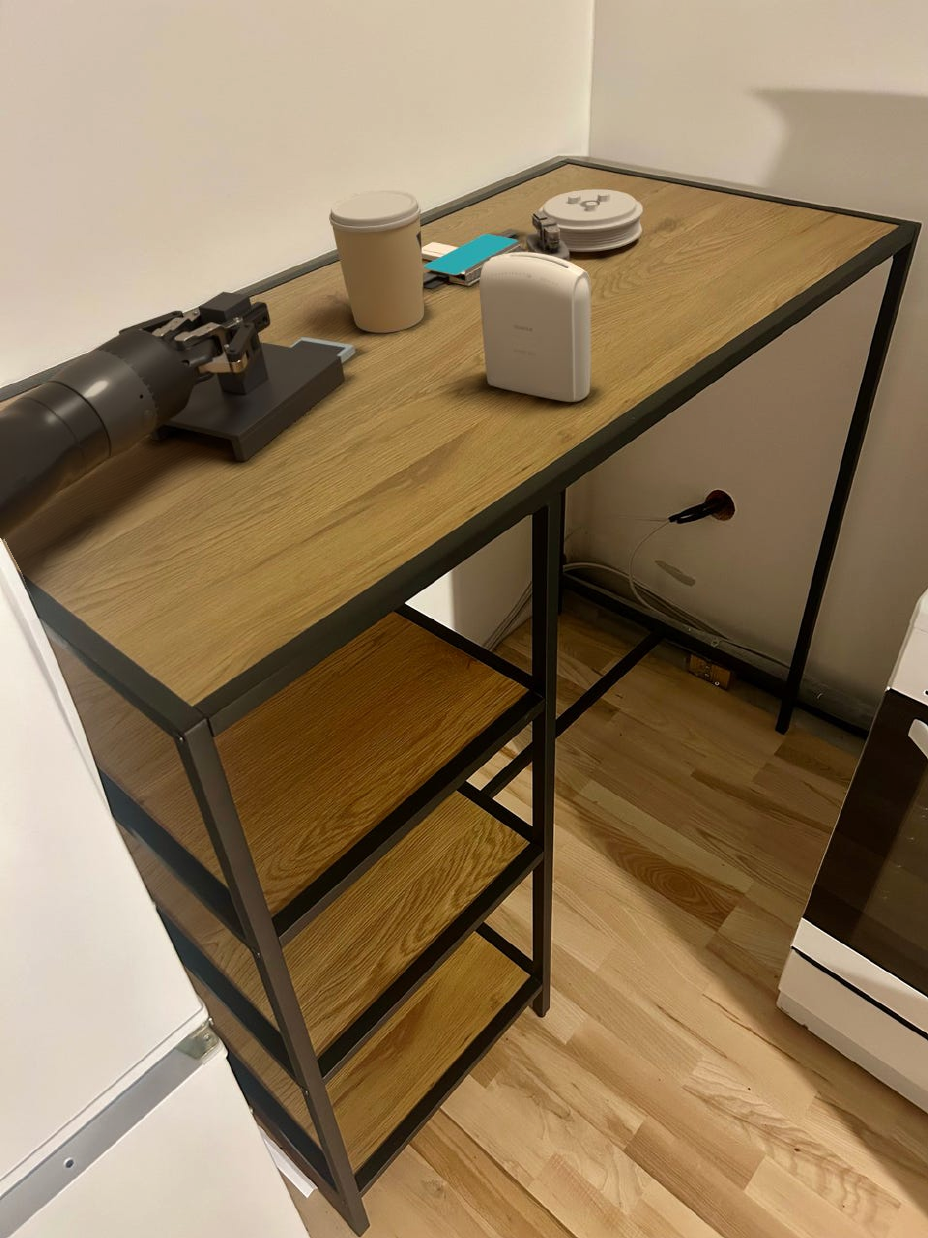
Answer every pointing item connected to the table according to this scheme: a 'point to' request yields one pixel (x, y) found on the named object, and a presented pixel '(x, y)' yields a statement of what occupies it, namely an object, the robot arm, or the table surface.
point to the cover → (255, 389)
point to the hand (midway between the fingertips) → (248, 309)
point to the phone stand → (465, 258)
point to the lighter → (546, 237)
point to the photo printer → (537, 325)
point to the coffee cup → (381, 258)
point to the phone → (325, 347)
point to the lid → (595, 219)
